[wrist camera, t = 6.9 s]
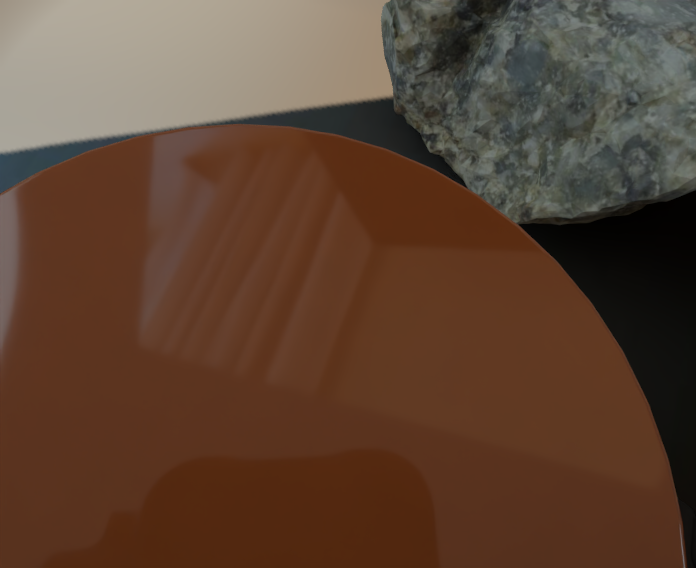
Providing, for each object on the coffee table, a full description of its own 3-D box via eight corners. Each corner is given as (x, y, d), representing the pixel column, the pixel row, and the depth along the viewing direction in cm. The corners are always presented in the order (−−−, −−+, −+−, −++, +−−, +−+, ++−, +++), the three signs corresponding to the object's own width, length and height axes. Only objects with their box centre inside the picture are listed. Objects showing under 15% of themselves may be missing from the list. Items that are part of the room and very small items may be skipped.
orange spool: (494, 403, 14) (769, 282, 5) (390, 735, 12) (546, 1415, 3) (214, 295, 14) (38, 22, 6) (73, 597, 12) (-505, 873, 4)
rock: (427, -215, 19) (587, -159, 25) (316, 75, 25) (465, 61, 32) (850, 76, 14) (915, 53, 20) (572, 341, 20) (687, 260, 27)
